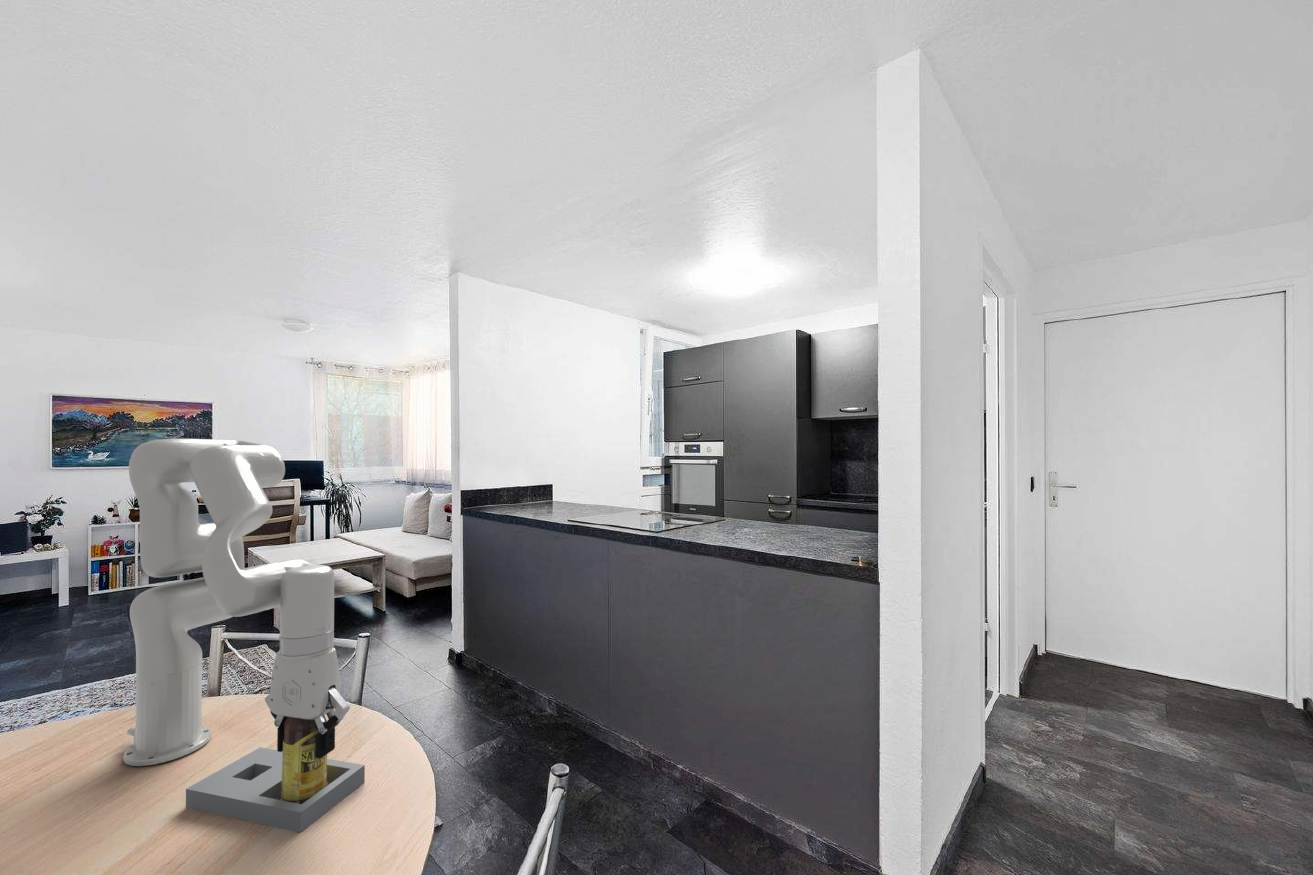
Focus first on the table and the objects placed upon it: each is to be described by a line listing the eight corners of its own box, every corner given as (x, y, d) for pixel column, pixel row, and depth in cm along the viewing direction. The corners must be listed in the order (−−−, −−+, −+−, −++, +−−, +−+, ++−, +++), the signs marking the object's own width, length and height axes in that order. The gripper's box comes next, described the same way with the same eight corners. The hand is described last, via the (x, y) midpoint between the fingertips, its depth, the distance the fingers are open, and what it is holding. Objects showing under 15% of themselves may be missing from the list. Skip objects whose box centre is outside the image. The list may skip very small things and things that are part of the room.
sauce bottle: (304, 815, 85) (304, 688, 86) (271, 810, 86) (271, 685, 87) (336, 789, 92) (336, 671, 92) (305, 785, 93) (305, 669, 93)
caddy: (185, 807, 87) (185, 788, 87) (259, 763, 99) (260, 747, 99) (300, 832, 81) (300, 812, 81) (364, 782, 93) (364, 764, 94)
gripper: (244, 645, 88) (242, 755, 88) (331, 655, 84) (330, 771, 83) (286, 630, 95) (284, 732, 95) (368, 639, 91) (367, 745, 91)
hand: (306, 749), depth 89 cm, fingers open, 7 cm apart
